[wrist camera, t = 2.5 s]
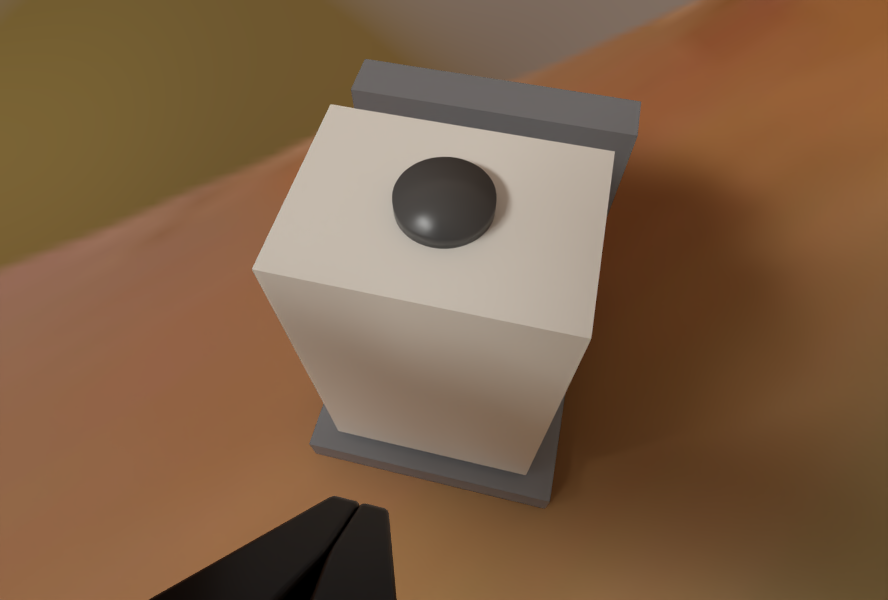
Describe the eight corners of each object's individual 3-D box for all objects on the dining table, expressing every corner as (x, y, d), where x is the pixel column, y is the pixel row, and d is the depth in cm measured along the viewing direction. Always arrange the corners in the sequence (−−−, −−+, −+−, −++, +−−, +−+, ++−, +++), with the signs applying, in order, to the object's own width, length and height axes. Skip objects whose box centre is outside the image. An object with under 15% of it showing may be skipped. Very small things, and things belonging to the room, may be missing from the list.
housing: (544, 508, 17) (607, 423, 10) (316, 453, 18) (235, 341, 11) (579, 273, 22) (640, 101, 15) (390, 237, 22) (365, 59, 15)
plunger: (525, 475, 17) (595, 330, 9) (338, 431, 17) (246, 259, 9) (546, 350, 19) (618, 140, 11) (377, 315, 19) (328, 92, 11)
